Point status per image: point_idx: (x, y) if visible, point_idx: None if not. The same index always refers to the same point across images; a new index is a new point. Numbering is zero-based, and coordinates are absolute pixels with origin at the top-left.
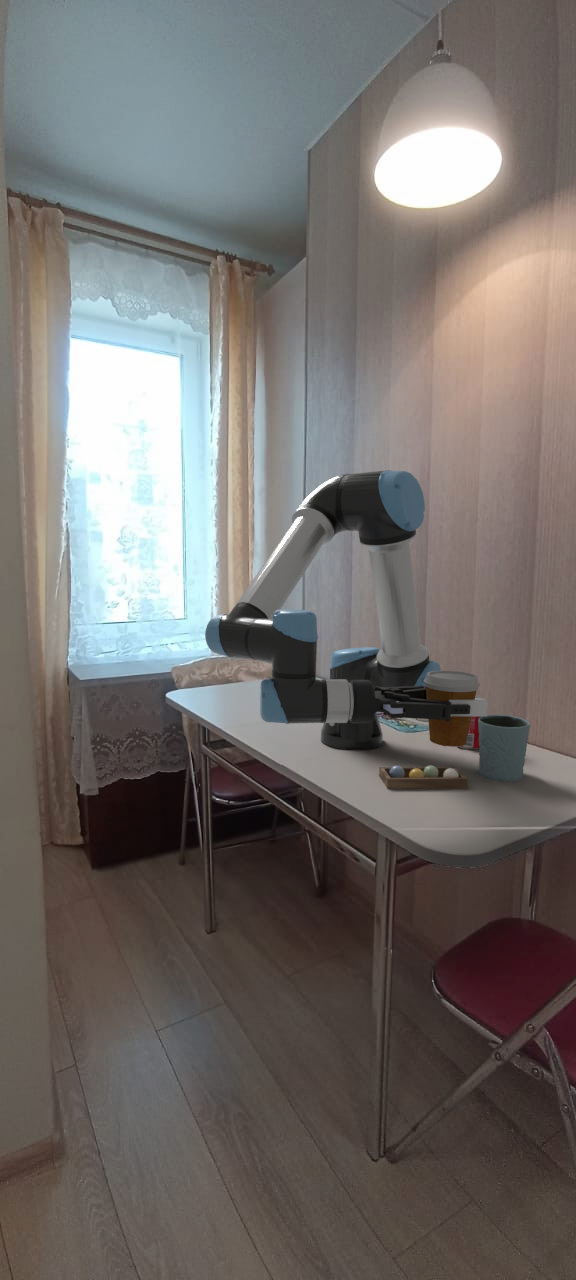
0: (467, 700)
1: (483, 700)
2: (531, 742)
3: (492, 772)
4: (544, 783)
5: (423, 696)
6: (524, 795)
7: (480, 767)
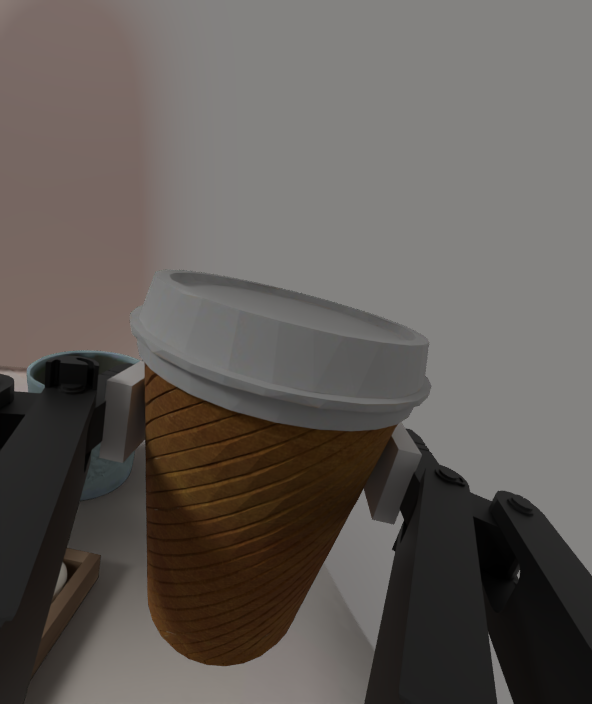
0: None
1: None
2: (14, 367)
3: (96, 483)
4: None
5: (83, 458)
6: None
7: None
